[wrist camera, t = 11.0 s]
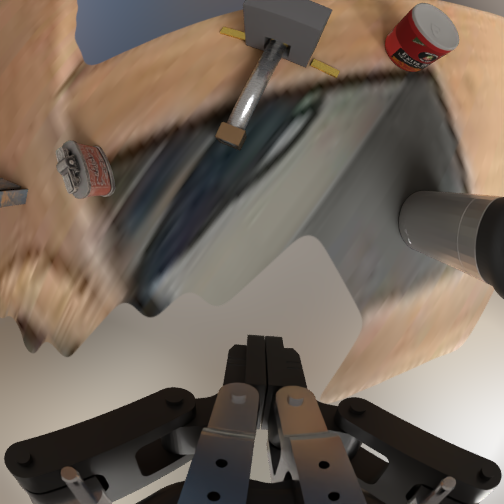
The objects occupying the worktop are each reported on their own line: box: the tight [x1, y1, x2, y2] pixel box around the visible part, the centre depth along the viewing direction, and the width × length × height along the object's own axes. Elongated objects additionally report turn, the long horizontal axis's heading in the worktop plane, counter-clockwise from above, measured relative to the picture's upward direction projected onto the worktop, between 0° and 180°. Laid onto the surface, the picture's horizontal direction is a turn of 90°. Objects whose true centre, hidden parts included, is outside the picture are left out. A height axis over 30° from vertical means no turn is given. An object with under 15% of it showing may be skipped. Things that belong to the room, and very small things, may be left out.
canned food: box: [385, 3, 459, 72], centre depth 26 cm, size 8×8×11 cm
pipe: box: [215, 27, 340, 150], centre depth 32 cm, size 23×18×4 cm
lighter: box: [56, 141, 115, 199], centre depth 32 cm, size 8×3×10 cm, turn 23°
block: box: [243, 0, 332, 68], centre depth 27 cm, size 4×9×11 cm, turn 66°
